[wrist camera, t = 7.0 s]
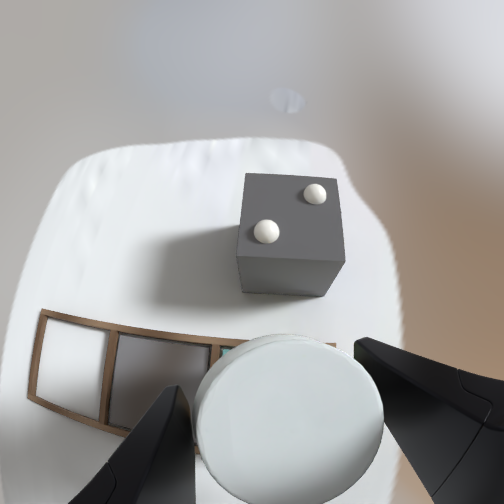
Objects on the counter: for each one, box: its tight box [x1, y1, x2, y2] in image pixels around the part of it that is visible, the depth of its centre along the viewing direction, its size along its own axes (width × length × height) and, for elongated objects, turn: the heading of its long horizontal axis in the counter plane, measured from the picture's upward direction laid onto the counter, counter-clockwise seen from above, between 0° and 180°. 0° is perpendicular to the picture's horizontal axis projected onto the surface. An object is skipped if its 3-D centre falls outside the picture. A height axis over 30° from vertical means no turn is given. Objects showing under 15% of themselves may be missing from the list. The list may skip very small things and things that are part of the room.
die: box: [236, 173, 345, 296], centre depth 16 cm, size 5×5×6 cm
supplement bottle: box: [192, 334, 384, 504], centre depth 9 cm, size 5×5×10 cm
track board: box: [28, 309, 336, 454], centre depth 15 cm, size 20×7×1 cm, turn 86°
